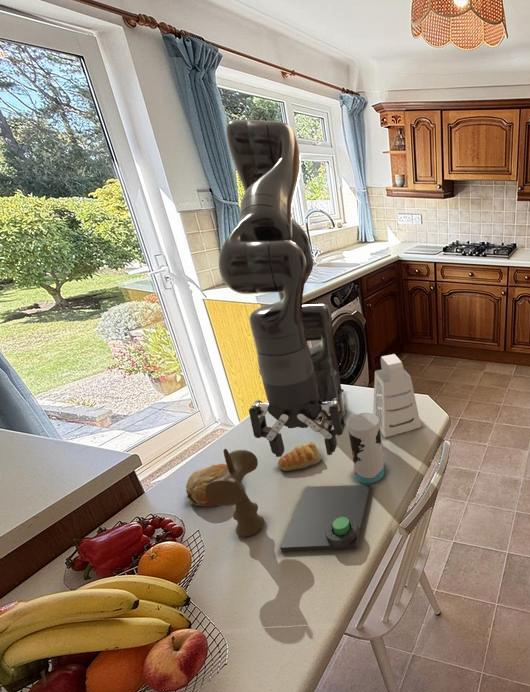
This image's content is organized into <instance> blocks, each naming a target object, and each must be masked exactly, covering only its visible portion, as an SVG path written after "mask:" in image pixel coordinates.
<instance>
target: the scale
mask: <svg viewBox="0 0 530 692" xmlns="http://www.w3.org/2000/svg"><path fill="white" fill-rule="evenodd" d="M371 489H372V488H371V485H370V484H355V485H351V484H350V485H324V486H321V485H319V486H306V487H305V490H304V492H303V493H302V496H301V498H300V501H299V503H298V505H297V508H296V510H295V513H294V515H293V517H292V519H291V522H290V524H289V526H288V529H287V531H286V534H285V535H284V538H283V540H282V543H281V545H280V547H279V548H280V552H281V553H285V552H286V553H288V552H289V553H290V552H310V551H311V552H313V551H336V550H337V551H338V550H355V549H358V544H359V541H360V536H361V531H362V528H363V524H364V519H365V514H366V510H367V506H368V502H369V497H370V493H371ZM340 517H346V518H347V519H348V520H349V524H350V530H349V531H348V532H347V533H346V534H344V535H340V536H339V535H336V534H335V533H334V530H333V522H334V521H335V520H336V519H337V518H340Z"/></svg>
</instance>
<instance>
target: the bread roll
mask: <svg viewBox="0 0 530 692" xmlns="http://www.w3.org/2000/svg"><path fill="white" fill-rule="evenodd" d="M226 470H227V463H219V464H212V465H210V466H207V467H205V468H201V469H197V470H195V471H194V472H193V473H192V474H190V475H189V477H188V478H187V482H186V486H185V492H186V495H187V498H188V500H189V505H195V506H199V507H206V508H207V507H208V508H209V507H215V506H217V504H214V503H213V502H211V501H210V500H209V499H208V498H207V496H206V493H205V489H206V486H207V484H208V483H210V482H212V481H214V480H216V479H220V478H222V477H223V475H224V474H225V472H226Z"/></svg>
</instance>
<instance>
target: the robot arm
mask: <svg viewBox="0 0 530 692" xmlns="http://www.w3.org/2000/svg"><path fill="white" fill-rule="evenodd" d="M225 134H226V141H227V142H226V143H227V145H228V150H229V152H230V156H231V159H232V162H233V165H234V167H235V170H236V172H237V175H238V177H239V181H240V183H241V185H242V187H243V191H244V194H243V196H242V198H241V202H240V209H239V219H238V222H237V224H236V225H235V226H234V228H233V229H232V230H231V232H230V233H229V235H228V236H227V238H226V239H225V240H224V243H223V244H222V246H221V250H220V252H219V255H218V270H219V274H220V277H221V280H222V281H223V282H224V284H225V285H226V286H227V287H228V288H229V289H230V290H232V291H233V292H236V293H237V294H240V295H257V294H272V293H277V294H278V298H279V301H277V302H275V303H271V304H268V305H264V306H261V307H258V308H256V309H254V310H253V311H252V312H251V313H250V314H249V326H250V330H251V334H252V338H253V342H254V346H255V348H256V349H255V350H256V354H257V355H256V356H257V364H258V365H257V366H258V372H259V375H260V377H261V380H262V381H261V382H262V385H263V389H264V393H265V396H266V400H267V403H266V402H265V403H263V401H262V400H259V399H257V400H255V401H254V402H253V403H252V405H251V406H250V408H249V409H248V414H249V418H250V423H251V428H252V432H253V436H254V438H256V439H260V438H263V439H266V440H267V441H268V443H269V447H270V450H271V453H272V454H273V455H275V457H276V458H282V457H283V454H284V453H285V445H284V441H283V437H282V433H281V432H280V431H281V430H282V428H283V427H286V428H287V429H295V428H300V429H308V428H310V430H312V431H314V432H315V433H319V434H320V435H321V436H323V439H324V445H325V451H326V455H327V456H332V455H333V453H335V452H336V449H337V446H338V441H337V436H339V437H340V436H341V435H343V433H344V430H345V427H346V421H345V416H346V409H345V405H344V404H345V403H344V397H343V393H344V392H345V390H344V389H342V384H341V379H340V378H341V377H340V371H339V363H338V358H337V353H336V346H335V339H334V337H335V336H334V327H333V317H332V313H331V309H330V307H329V306H328V305H327V304H324V303H318V304H317V303H316V304H303V298H304V289H305V285H306V283H307V281H308V280H309V277H310V276H311V273H312V272H313V267H314V258H313V253H312V248H311V244H310V240H309V237H308V234H307V233H306V232H305V230H304V229H303V227H301V225H300V224H299V223H298V222H297V221H296V220H295V219H294V218H293V202H294V198H295V195H296V192H297V187H298V183H299V180H300V174H301V154H300V148H299V144H298V140H297V137H296V134H295V132H294V129H293V128H292V127H291V126H290V125H289V124H287V123H286V122H282V121H278V120H260V119H259V120H256V119H233V120H230V121H228V123H227V124H226V129H225ZM315 341H319V342H318V343H317V344H315V345H313V346H311V347H309V344H308V342H315ZM267 413H268V414H269V415H271V416H272V417H273V418H274V419H275V420H276V421H275V422H274V423H273V424H272V426H268V424H267V419H266V414H267Z"/></svg>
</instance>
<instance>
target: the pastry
mask: <svg viewBox="0 0 530 692" xmlns="http://www.w3.org/2000/svg"><path fill="white" fill-rule="evenodd" d="M321 459H322V457H321V454H320V452H319V450H318V448H317V445H316V443H314V442H312V441H311V442H309V443H305V444H302V445H298V446H295V448H293V449H292V450H291V451H289V452H287V453H285V454H284V455H282V456H281V457H279V459H278V463H277V467H278V469H280V470H282V471H287V472H289V471H295V470H301V469H305V468H308V467H310V466H314V465H317V464H319V463H320V462H321Z"/></svg>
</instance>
